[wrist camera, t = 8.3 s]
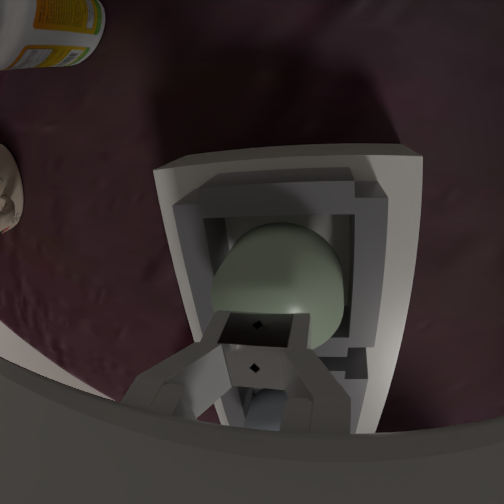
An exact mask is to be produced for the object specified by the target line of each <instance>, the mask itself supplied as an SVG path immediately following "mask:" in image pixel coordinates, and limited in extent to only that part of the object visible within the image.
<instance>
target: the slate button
mask: <svg viewBox="0 0 504 504" xmlns="http://www.w3.org/2000/svg"><path fill="white" fill-rule="evenodd" d="M288 399H289V398H288V396H287V394H286V393H285V390H277V389H267V388H263V389H261V390H259V391H258V392H257V393H256V394H255V395H254V396H253V397H252V400H251V403H250V406H249V410H248V413H247V417H246V420H245V423H244V427H243V428H250V429H260V430H270V431H279V430H280V425H281V421H282V416H283V411H284V407H285V402H286V401H287V400H288Z"/></svg>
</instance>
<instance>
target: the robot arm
mask: <svg viewBox="0 0 504 504" xmlns="http://www.w3.org/2000/svg"><path fill="white" fill-rule="evenodd" d="M232 386H241V387H256V388H267V389H277V390H285V393H286V394H287V396H288V398H289V399H288V400H287V401H286V402H285V407H284V411H283V416H282V421H281V425H280V430H279V431H270V430H260V429H250V428H242V427H234V426H227V425H221V424H214V423H208V422H202V421H197V419H196V418H197V417H198V416H199V415H201V414H202V413H203V412H204V411H205V410H206V409H208V408H209V407H210V406H211V405H212V404H213V403H214V402H216V401H217V400H218V399H219V398H220V397H221V396H222V395H223V394H225V393H226V392H227V391H228V390H229V389H230V388H231V387H232ZM350 424H351V398H350V396H349V395H348V394H347V393H346V391H345V390H344V389H343V388H342V386H341V385H340V384H339V383H338V381H337V380H336V379H335V378H334V376H333V375H332V374H331V373H330V371H329V370H328V369H327V368H326V366H325V365H324V364H323V363H322V361H321V360H320V359H319V358H318V356H317V355H316V354H315V353H314V351H313V350H312V349H311V314H310V313H294V314H282V313H257V312H241V311H223V310H218V311H216V312H215V313H214V315H213V317H212V319H211V321H210V323H209V325H208V327H207V329H206V331H205V333H204V335H203V337H202V339H201V341H200V342H194V343H193V344H191V345H189V346H188V347H186V348H184V349H183V350H181V351H179V352H178V353H176V354H174V355H173V356H171V357H169V358H167V359H166V360H164V361H162V362H161V363H159V364H157V365H155V366H154V367H152V368H150V369H148V370H147V371H145V372H143V373H141V374H140V375H138V376H137V377H136V379H135V380H134V382H133V383H132V385H131V387H130V388H129V390H128V391H127V393H126V395H125V396H124V398H123V399H122V401H121V403H120V402H116V401H113V400H110V399H106V398H103V397H100V396H97V395H94V394H91V393H88V392H85V391H82V390H79V389H76V388H73V387H71V386H68V385H65V384H62V383H60V382H57V381H55V380H52V379H49V378H47V377H44V376H42V375H40V374H37V373H35V372H32V371H30V370H28V369H26V368H23V367H21V366H19V365H17V364H15V363H12V362H10V361H8V360H6V359H4V358H2V357H0V504H504V416H500V417H496V418H491V419H486V420H482V421H476V422H471V423H466V424H460V425H453V426H447V427H440V428H432V429H423V430H413V431H402V432H388V433H366V434H350Z"/></svg>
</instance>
